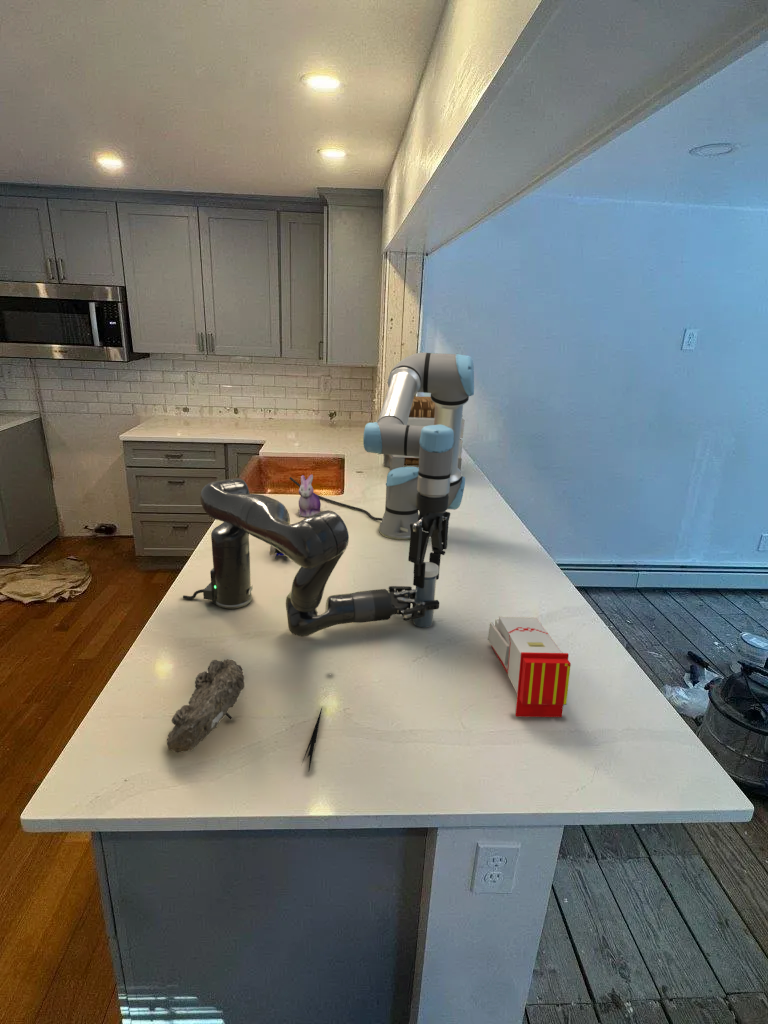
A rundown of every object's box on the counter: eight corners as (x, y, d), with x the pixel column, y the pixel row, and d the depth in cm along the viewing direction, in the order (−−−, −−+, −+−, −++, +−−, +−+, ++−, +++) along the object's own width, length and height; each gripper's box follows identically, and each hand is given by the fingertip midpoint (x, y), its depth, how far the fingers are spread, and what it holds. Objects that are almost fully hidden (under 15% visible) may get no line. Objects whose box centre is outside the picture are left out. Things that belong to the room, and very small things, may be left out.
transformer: (382, 463, 289) (386, 382, 275) (445, 464, 293) (451, 384, 279) (390, 482, 257) (394, 392, 243) (460, 483, 261) (468, 394, 247)
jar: (409, 620, 145) (412, 568, 140) (424, 615, 147) (428, 564, 142) (421, 629, 141) (425, 576, 136) (436, 624, 144) (441, 572, 139)
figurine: (302, 519, 209) (301, 480, 204) (293, 510, 217) (292, 472, 212) (325, 516, 213) (326, 477, 208) (316, 507, 222) (316, 470, 217)
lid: (411, 568, 141) (411, 562, 141) (433, 566, 143) (434, 560, 142) (419, 578, 136) (419, 572, 135) (442, 576, 138) (442, 570, 137)
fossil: (192, 660, 117) (244, 628, 112) (224, 691, 120) (276, 661, 115) (142, 746, 98) (202, 712, 93) (182, 779, 101) (242, 748, 96)
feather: (331, 679, 122) (336, 673, 122) (307, 777, 96) (313, 769, 95) (324, 675, 122) (329, 669, 121) (298, 772, 95) (304, 764, 95)
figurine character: (291, 566, 174) (297, 542, 188) (290, 545, 171) (296, 522, 184) (269, 566, 174) (276, 541, 187) (268, 544, 171) (275, 521, 184)
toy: (534, 602, 136) (579, 659, 107) (529, 653, 139) (572, 723, 110) (484, 601, 136) (516, 658, 107) (480, 652, 139) (510, 722, 109)
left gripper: (378, 606, 130) (446, 599, 135) (362, 579, 143) (425, 573, 148) (376, 635, 133) (444, 626, 138) (361, 605, 146) (423, 598, 150)
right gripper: (441, 481, 141) (434, 565, 149) (395, 497, 128) (390, 589, 136) (467, 488, 137) (459, 574, 145) (422, 505, 123) (415, 600, 131)
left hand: (434, 599), depth 143 cm, fingers closed on jar, 5 cm apart
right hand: (426, 581), depth 140 cm, fingers closed on lid, 6 cm apart
